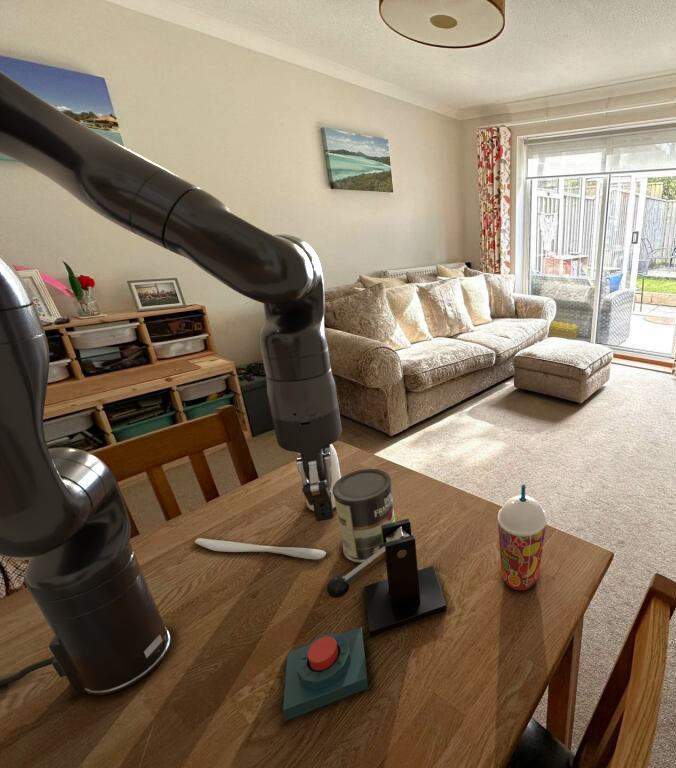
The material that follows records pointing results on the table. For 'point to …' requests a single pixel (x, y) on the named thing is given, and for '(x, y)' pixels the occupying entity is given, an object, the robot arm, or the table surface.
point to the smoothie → (521, 540)
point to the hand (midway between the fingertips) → (325, 517)
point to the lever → (360, 568)
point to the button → (323, 653)
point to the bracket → (402, 586)
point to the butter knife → (260, 548)
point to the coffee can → (363, 511)
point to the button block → (324, 675)
